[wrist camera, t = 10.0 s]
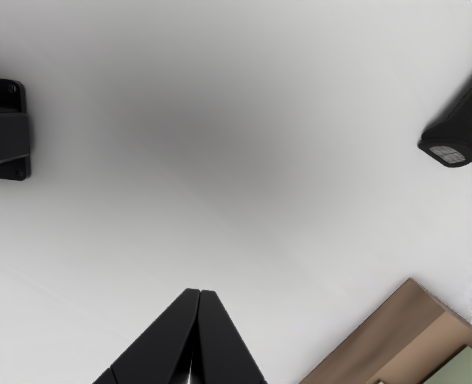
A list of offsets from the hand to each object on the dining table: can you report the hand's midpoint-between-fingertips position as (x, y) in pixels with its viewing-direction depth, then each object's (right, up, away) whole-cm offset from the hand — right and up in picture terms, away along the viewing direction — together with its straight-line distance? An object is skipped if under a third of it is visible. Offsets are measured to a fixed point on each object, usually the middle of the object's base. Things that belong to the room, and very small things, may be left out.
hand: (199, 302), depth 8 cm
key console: (+13, -13, +18) cm, 26 cm away
